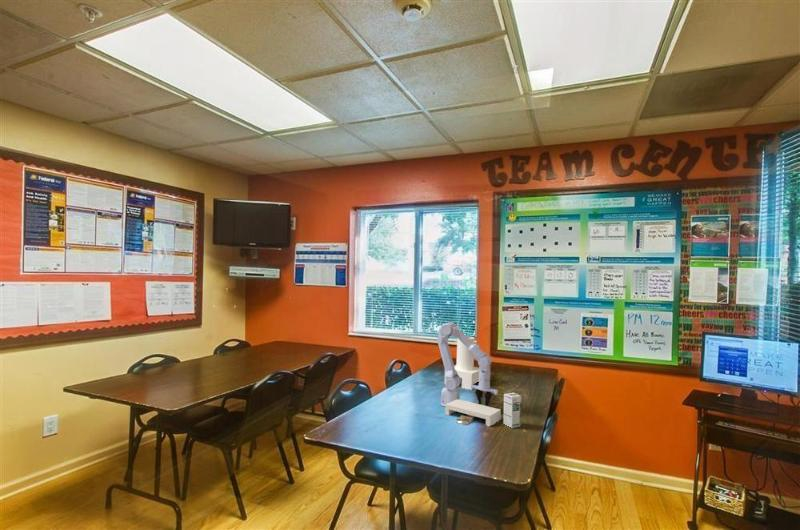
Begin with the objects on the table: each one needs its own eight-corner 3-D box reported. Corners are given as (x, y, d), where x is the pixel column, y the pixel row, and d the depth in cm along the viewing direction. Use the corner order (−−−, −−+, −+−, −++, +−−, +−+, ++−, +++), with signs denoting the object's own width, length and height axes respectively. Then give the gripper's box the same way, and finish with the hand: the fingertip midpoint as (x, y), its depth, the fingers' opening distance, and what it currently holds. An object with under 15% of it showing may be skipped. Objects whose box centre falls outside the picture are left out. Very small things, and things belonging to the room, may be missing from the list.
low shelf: (445, 414, 203) (445, 404, 203) (457, 408, 212) (457, 399, 213) (489, 426, 188) (490, 415, 188) (500, 419, 198) (500, 409, 198)
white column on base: (458, 378, 275) (459, 334, 275) (484, 384, 264) (485, 337, 264) (444, 384, 260) (445, 337, 260) (471, 390, 249) (472, 340, 249)
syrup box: (511, 428, 187) (512, 396, 187) (502, 424, 192) (503, 393, 193) (520, 426, 190) (521, 395, 190) (512, 422, 195) (512, 391, 195)
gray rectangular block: (480, 408, 214) (480, 395, 214) (491, 411, 210) (491, 397, 210) (460, 419, 197) (460, 404, 197) (471, 422, 193) (471, 407, 193)
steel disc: (453, 422, 193) (453, 420, 193) (462, 420, 197) (462, 417, 197) (462, 426, 188) (463, 423, 188) (471, 424, 192) (471, 421, 192)
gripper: (500, 380, 209) (500, 406, 209) (475, 375, 218) (474, 400, 217) (494, 382, 203) (494, 410, 203) (469, 377, 212) (468, 403, 212)
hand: (483, 405), depth 210 cm, fingers closed on gray rectangular block, 3 cm apart
